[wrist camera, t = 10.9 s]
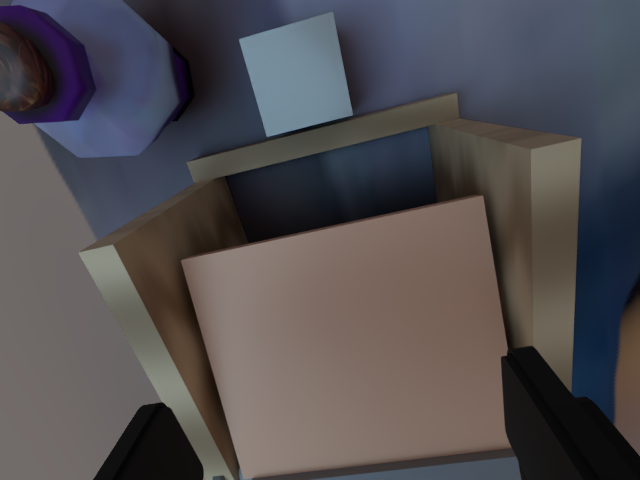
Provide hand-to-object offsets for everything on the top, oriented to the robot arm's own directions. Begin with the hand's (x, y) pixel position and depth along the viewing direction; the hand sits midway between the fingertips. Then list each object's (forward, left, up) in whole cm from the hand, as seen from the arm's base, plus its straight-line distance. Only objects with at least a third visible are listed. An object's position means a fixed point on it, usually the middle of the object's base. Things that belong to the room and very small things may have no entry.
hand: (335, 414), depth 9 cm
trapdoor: (-7, 0, -9) cm, 11 cm away
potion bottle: (+12, +10, -18) cm, 24 cm away
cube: (+9, 0, -13) cm, 16 cm away
